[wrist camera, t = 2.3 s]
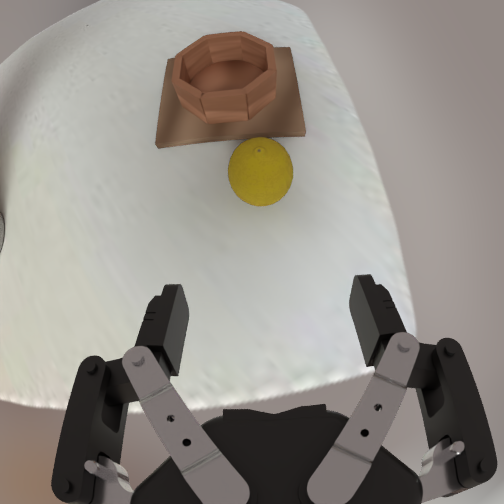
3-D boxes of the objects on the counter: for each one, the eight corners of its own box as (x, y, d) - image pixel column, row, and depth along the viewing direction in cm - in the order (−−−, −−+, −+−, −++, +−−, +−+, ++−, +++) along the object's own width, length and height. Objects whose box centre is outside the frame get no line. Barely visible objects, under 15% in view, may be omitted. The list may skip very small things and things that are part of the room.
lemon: (263, 155, 29) (262, 109, 21) (301, 192, 28) (312, 154, 21) (221, 188, 29) (206, 149, 21) (258, 228, 28) (255, 200, 20)
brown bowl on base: (158, 148, 30) (140, 122, 25) (169, 63, 32) (158, 36, 27) (304, 136, 29) (311, 106, 24) (289, 52, 32) (291, 22, 26)
